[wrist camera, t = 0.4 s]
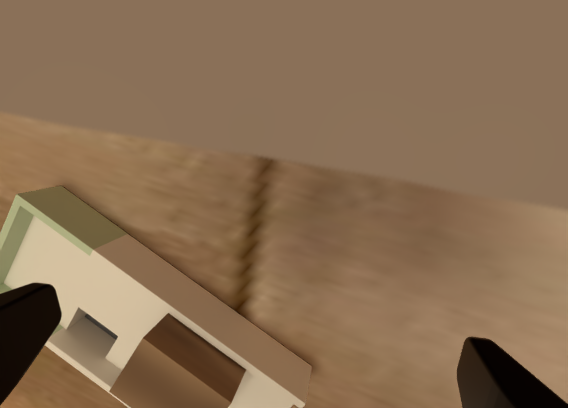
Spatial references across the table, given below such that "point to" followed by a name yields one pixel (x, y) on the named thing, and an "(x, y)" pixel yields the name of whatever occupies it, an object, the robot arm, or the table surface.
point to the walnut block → (177, 371)
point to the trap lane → (130, 298)
